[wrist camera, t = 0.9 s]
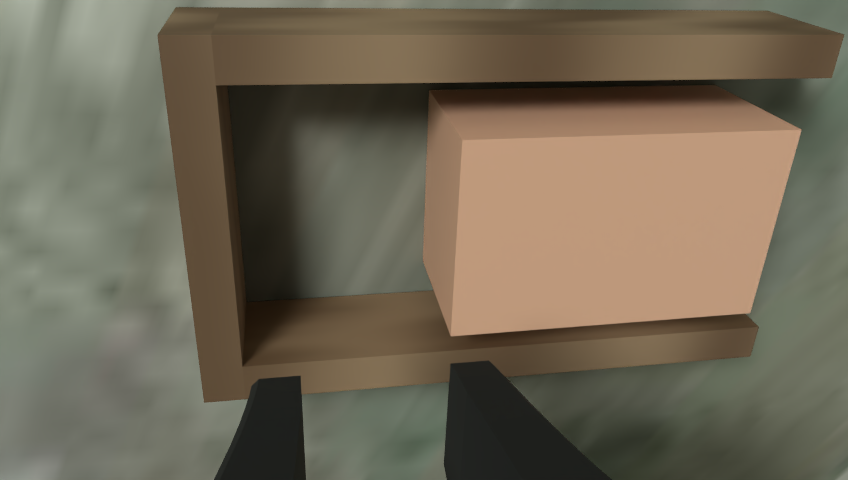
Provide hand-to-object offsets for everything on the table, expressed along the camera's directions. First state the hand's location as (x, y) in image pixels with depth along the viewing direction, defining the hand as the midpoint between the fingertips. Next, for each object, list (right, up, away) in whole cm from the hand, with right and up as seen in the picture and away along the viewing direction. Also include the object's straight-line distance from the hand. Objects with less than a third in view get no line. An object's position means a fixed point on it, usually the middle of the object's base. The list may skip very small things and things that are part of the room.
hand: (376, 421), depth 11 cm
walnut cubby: (+3, +4, +9) cm, 10 cm away
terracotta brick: (+5, +5, +10) cm, 12 cm away
